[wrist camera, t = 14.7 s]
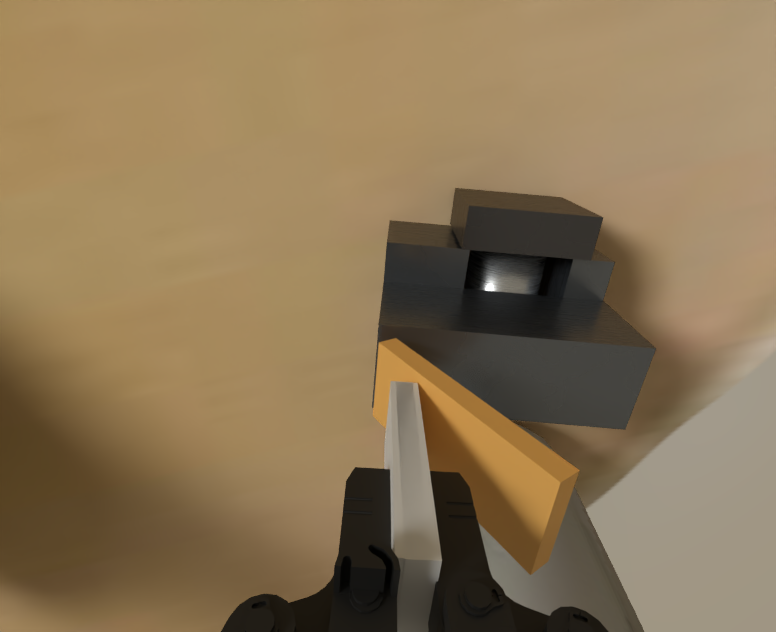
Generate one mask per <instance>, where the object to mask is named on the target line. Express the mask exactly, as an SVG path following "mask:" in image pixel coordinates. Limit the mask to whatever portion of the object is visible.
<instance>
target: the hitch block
mask: <svg viewBox="0 0 776 632" xmlns="http://www.w3.org/2000/svg"><path fill="white" fill-rule="evenodd" d="M469 253H470V250H464V249H462V248H461V246H460V244H459V241H458V239H457V237H456V235H455V233H454V231H453V228H452V226H447V225H435V224H424V223H413V222H401V221H390V224H389V231H388V239H387V249H386V261H385V274H384V284H383V293H382V301H381V310H380V318H379V328H378V340H377V353H376V365H375V377H374V390H373V402H372V408H374V396H375V383H376V371H377V359H378V347H379V342H382V341H386V340H390V339H394V338H397V339H398V340H399V341H401V342H402V343H404V344H405V345H406V346H408V347H409V348H410V349H412V350H413V351H415V352H416V353H417V354H419V355H420V356H422V357H423V358H424V359H426V360H427V361H429V362H430V363H431V364H433V365H434V366H435V367H437V368H438V369H440V370H441V371H442V372H444V373H445V374H447V375H448V376H449V377H451V378H452V379H453V380H455V381H456V382H458V383H459V384H460V385H462V386H463V387H465V388H466V389H467V390H469V391H470V392H472V393H473V394H474V395H476V396H477V397H478V398H480V399H481V400H483V401H484V402H485V403H487V404H488V405H490V406H491V407H492V408H494V409H495V410H497V411H498V412H499V413H501V414H502V415H503V416H505V417H506V418H508V419H509V420H520V421H532V422H543V423H555V424H567V425H578V426H590V427H601V428H613V429H626V426H627V423H628V421H629V418H630V415H631V413H632V410H633V408H634V405H635V402H636V400H637V397H638V395H639V392H640V389H641V387H642V384H643V381H644V379H645V376H646V374H647V371H648V368H649V366H650V363H651V360H652V358H653V355H654V353H655V350H656V348H655V347H654V346H653V345H652V344H650V343H649V342H648V341H647V340H646V339H645V338H644V337H643V336H642V335H640V334H639V333H638V332H637V331H636V330H635V329H634V328H633V327H632V326H630V325H629V324H628V323H627V322H626V321H625V320H624V319H623V318H622V317H621V316H619V315H618V314H617V313H616V312H615V311H614V310H613V309H612V308H611V307H609V306H608V305H607V304H606V303H605V302H604V301H603V299H604V296H605V293H606V289H607V286H608V283H609V280H610V276H611V273H612V270H613V267H614V263H615V262H614V261H612V260H611V259H609V258H608V257H606V256H605V255H603V254H602V253H600V252H599V251H597V250H596V249H594V252H593V255H592V259H591V261H589V260H578V259H566V258H555V257H547V258H546V262H545V266H544V271H543V275H542V279H541V283H540V287H539V291H538V295H532V294H521V293H509V292H498V291H486V290H475V289H464V283H465V277H466V271H467V265H468V259H469Z"/></svg>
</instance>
